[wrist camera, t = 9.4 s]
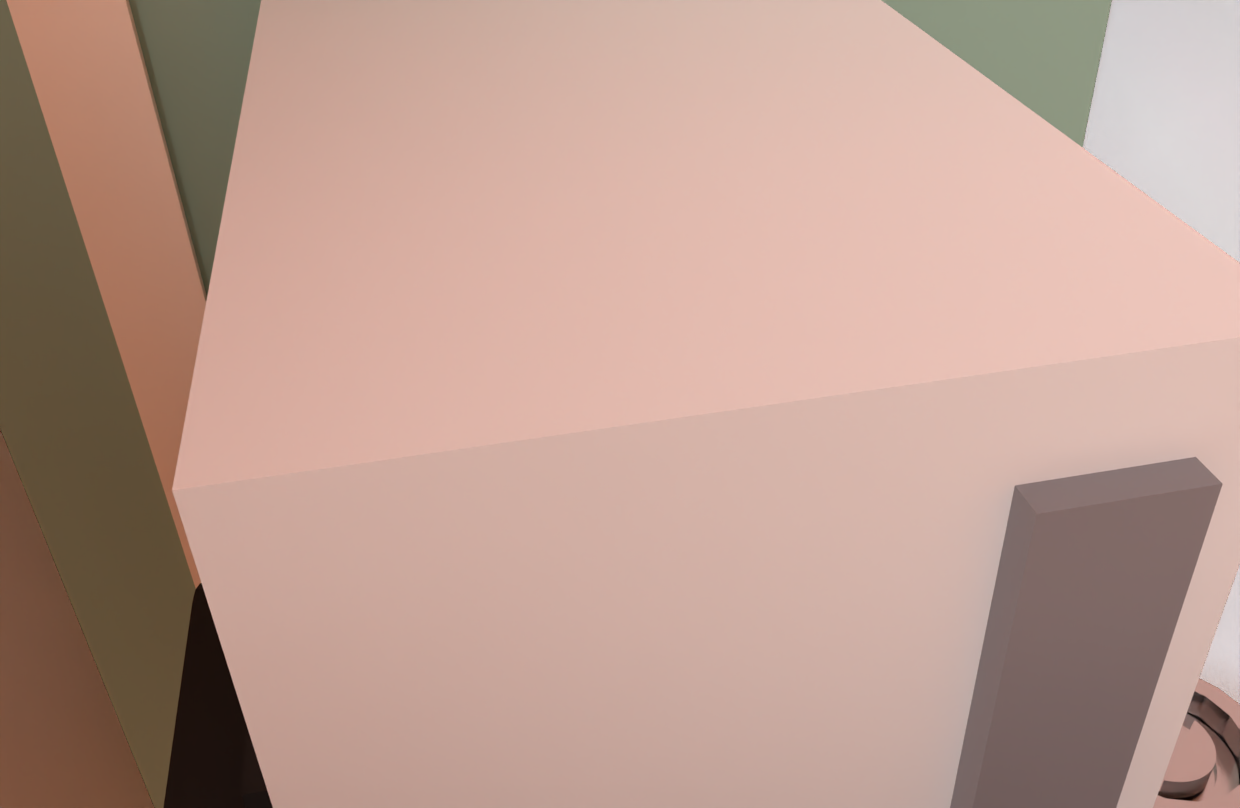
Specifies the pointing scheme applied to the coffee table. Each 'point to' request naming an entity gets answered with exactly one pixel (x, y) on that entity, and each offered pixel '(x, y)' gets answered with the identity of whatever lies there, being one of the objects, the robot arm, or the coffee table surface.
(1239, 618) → the coffee table surface
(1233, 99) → the coffee table surface
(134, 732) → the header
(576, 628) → the block
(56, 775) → the coffee table surface
